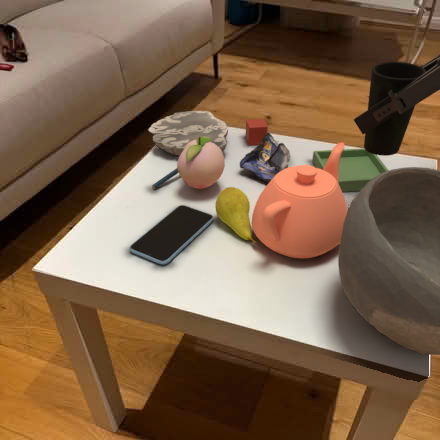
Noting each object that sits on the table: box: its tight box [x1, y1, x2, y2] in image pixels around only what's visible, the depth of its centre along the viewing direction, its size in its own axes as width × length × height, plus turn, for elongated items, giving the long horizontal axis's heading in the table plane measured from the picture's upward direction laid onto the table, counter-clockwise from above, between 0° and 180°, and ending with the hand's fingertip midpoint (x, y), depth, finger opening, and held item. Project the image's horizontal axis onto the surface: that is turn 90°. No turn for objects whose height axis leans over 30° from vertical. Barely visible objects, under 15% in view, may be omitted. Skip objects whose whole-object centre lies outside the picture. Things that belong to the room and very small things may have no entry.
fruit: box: [215, 186, 258, 245], centre depth 77 cm, size 6×6×12 cm
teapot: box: [251, 141, 348, 259], centre depth 73 cm, size 22×15×12 cm
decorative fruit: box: [176, 136, 226, 190], centre depth 84 cm, size 9×8×10 cm
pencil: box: [151, 167, 179, 190], centre depth 90 cm, size 1×1×15 cm
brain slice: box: [147, 110, 229, 157], centre depth 100 cm, size 20×17×3 cm
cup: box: [363, 61, 426, 157], centre depth 72 cm, size 8×8×12 cm
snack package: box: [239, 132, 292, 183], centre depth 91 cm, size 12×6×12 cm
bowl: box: [337, 166, 440, 356], centre depth 59 cm, size 24×24×15 cm
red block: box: [245, 118, 269, 146], centre depth 101 cm, size 4×4×4 cm
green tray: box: [311, 147, 390, 193], centre depth 91 cm, size 12×12×2 cm
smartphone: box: [129, 204, 214, 265], centre depth 77 cm, size 7×1×15 cm
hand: (368, 116), depth 74 cm, fingers closed on cup, 8 cm apart
